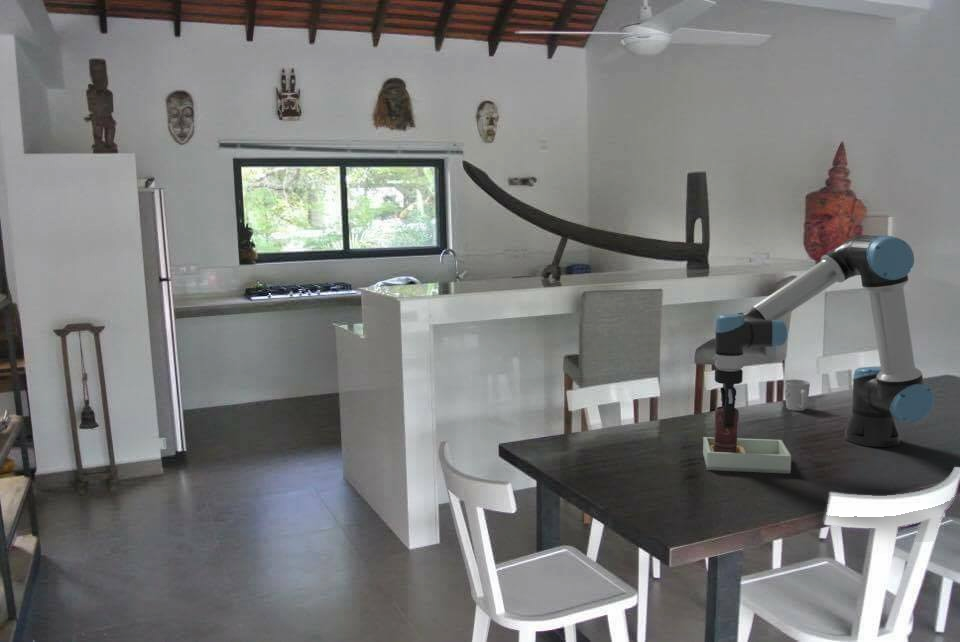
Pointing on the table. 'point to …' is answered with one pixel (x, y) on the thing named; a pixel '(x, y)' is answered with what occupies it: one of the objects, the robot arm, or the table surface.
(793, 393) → the mug
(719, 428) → the can
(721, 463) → the walled box
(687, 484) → the table surface
